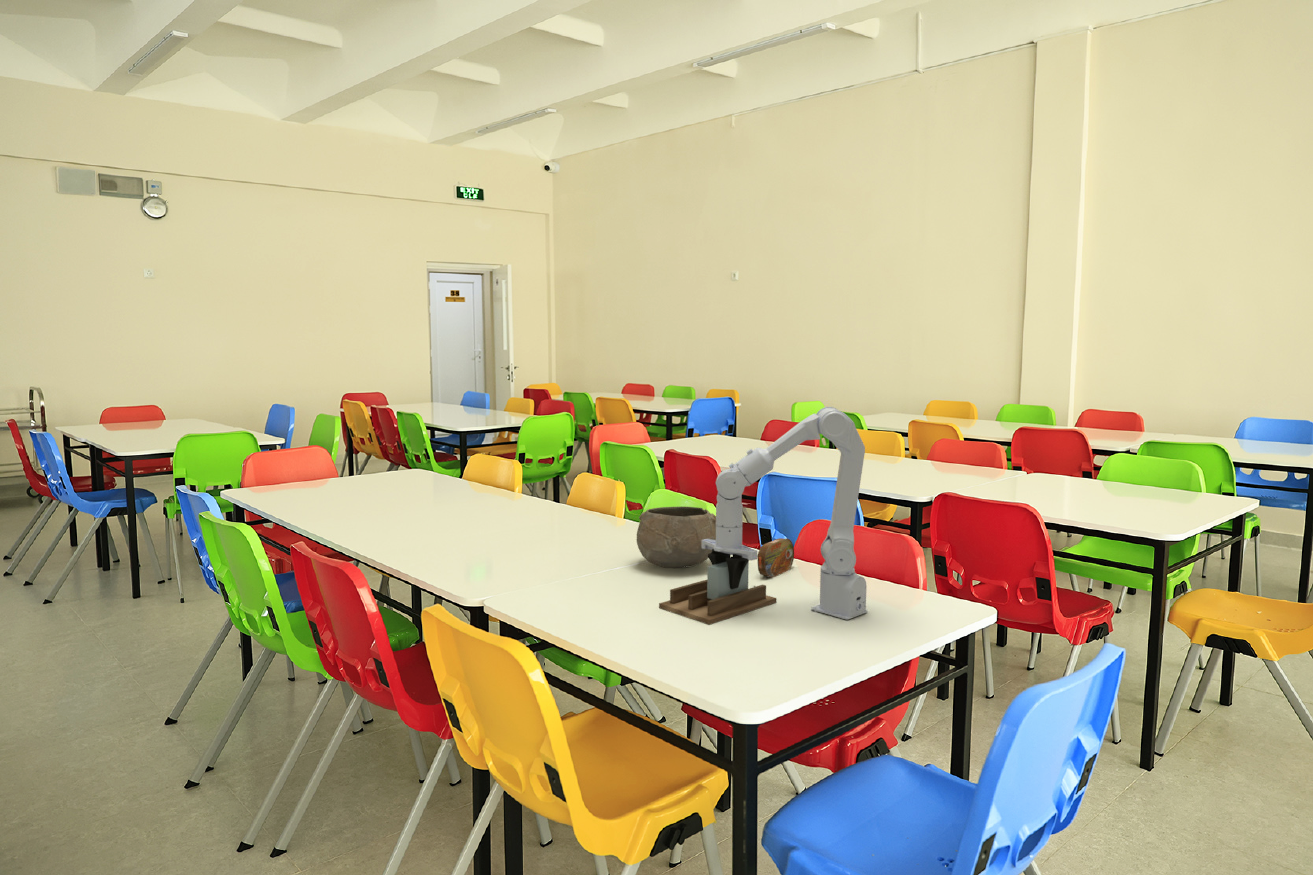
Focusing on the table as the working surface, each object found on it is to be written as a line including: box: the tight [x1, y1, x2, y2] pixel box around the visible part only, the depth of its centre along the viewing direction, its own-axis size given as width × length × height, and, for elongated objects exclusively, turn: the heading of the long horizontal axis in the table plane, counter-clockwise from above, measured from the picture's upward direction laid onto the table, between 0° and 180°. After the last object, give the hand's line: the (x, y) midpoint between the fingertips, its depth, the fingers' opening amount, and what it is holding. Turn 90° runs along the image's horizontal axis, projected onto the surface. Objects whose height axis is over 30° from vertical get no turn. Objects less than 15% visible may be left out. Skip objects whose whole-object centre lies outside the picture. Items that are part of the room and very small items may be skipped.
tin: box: [757, 537, 795, 579], centre depth 214 cm, size 15×3×8 cm, turn 143°
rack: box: [658, 579, 778, 626], centre depth 188 cm, size 15×22×4 cm
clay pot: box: [636, 506, 716, 569], centre depth 219 cm, size 21×21×15 cm
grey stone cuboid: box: [706, 562, 750, 600], centre depth 185 cm, size 3×10×7 cm, turn 133°
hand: (728, 586), depth 185 cm, fingers closed on grey stone cuboid, 3 cm apart
